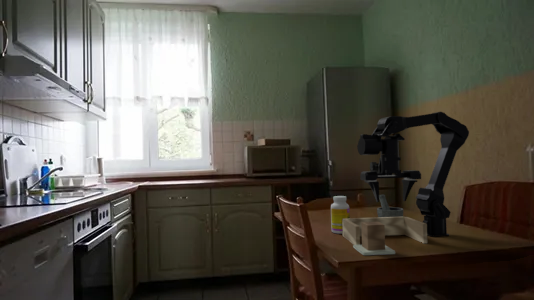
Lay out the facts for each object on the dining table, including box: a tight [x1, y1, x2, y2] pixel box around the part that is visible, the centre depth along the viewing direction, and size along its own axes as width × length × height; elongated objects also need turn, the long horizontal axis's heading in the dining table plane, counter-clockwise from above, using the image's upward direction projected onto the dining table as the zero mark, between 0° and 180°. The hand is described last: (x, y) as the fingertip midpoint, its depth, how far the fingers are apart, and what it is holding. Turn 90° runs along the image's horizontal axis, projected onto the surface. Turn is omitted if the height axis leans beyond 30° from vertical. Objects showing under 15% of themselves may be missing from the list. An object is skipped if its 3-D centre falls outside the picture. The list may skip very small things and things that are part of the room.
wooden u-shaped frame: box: [342, 215, 428, 245], centre depth 120 cm, size 22×14×6 cm, turn 94°
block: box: [361, 222, 386, 250], centre depth 107 cm, size 5×5×7 cm
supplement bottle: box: [330, 195, 351, 235], centre depth 133 cm, size 7×7×13 cm
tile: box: [352, 244, 396, 256], centre depth 107 cm, size 9×9×1 cm
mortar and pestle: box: [376, 194, 404, 217], centre depth 142 cm, size 11×9×12 cm
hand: (391, 201), depth 123 cm, fingers open, 9 cm apart
